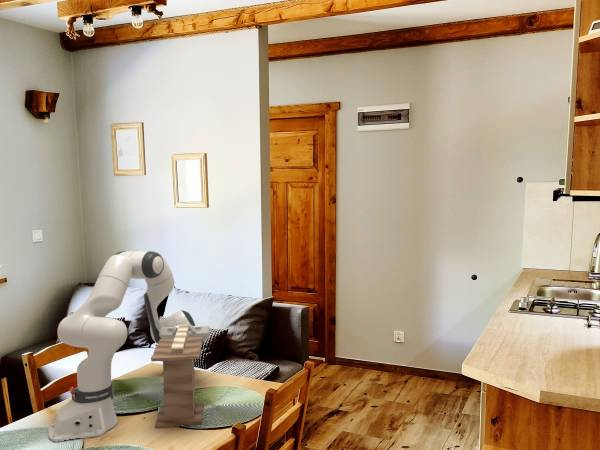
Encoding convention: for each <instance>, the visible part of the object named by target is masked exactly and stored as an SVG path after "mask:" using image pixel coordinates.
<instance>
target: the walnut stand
mask: <svg viewBox="0 0 600 450" xmlns="http://www.w3.org/2000/svg"><path fill="white" fill-rule="evenodd" d="M173 341H174V338H173V339H160V340H159V342H158V343H157V345H156V347H155V349H154V352H153V354H152V356H151V357H150V358H151V362H162V367H163V368H162V373H163V379H162V380H163V402H164V404H163V405H160V407H159V411H158V414H157V417H156V421H155V424H154V429H165V428H167V429H168V428H180V426H181V427H183V426H182V425H195V426H201V425H200V424H203V418H202V417H204V409H205V403H204V402H196V383H195V381H196V380H195V379H196V378H195V375H196V374H195V360H197V359H198V360H200V358H201V350H202V346H203V343H202V341H203V337H193V338H186V342H185V346H184V350H183V353H175V354H171V347H172V344H173Z"/></svg>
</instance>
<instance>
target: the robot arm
mask: <svg viewBox="0 0 600 450" xmlns="http://www.w3.org/2000/svg"><path fill="white" fill-rule="evenodd" d="M131 279H134V280H139V279H140V280H141V279H142V280H143V279H144V280H145V283H146V285H147V286H146V287H147V288H146V291H145V293H144V294H143V301H144V305H145V310H146V314H147V318H148V323H149V327H150V328H149V329H150V330H149V331H150V336H151V339H152V340H153V341H154V342H155V343H156V344H158V342H159V340H160V339H173V338H175V335H176V332H177V329H178V326H179V325H189V326H188V330H189V331H188V335H187V338H193V337H203V341H202V344H204V343H207V341H208V339H209V337H210V332H211V331H210V326H209V325H196V324H195V321H194V319H193V317H192V315H191V314H190V312H188V311H185V310H183V309H181V310H179V311H176V312H175V313H172V314H171V315H168V316H166V317H164V318H162V319H159V315H158V311H157V308H158V306H159V305H160V304H161V302H163V300H164V299H165V298H166V297H168V296H169V295H170V294H171V293H172V291H173V290H174V287H175V278H174V274H173V272H172V271H171V267H170V266H169V264H168V263H167V260H166V259H165V257H164V256H163V255H162V254H160V253H159V252H156V251H154V250H153V251H151V250H149V251H146V250H138V249H137V250H136V249H135V250H125V251H124V250H122V251H118V252H116V253H114V254H112V255H111V256H110V257H108V259H107V261H106V262H105V264H104V266H103V267H102V269H101V271H100V272H99V275H98V277H97V279H96V282H95V284H94V285H93V288H92V289H91V292H90V294H89V296H88V297H87V298H86V300H85V301H84V303H82V305H81V306H80V307H79V308H78V309H76V311H74V312H73V313H71V314H70V315H67V316H65V317H64V318H63V319H62V320H61V321H60V322H59V323H58V326H57V338H58V340H59V341H60V342H61V343H63V344H66V345H67V346H70V347H75V348H83V349H84V348H85V349H87V350H88V353H87V357H86V358H84V359H83V360H81V361H80V362H79V364H78V365H77V368H76V378H77V380H76V382H77V387H75V386H71V387H70V388H69V390H68V391H69V393H70V395H71V400H69V401H68V402H67V403H66V404H64V405H63V406H62V407H61V408H60V409H58V412H57V413H56V416H55V420H54V422H52V423H51V425H49V427H48V430H47V436H49V437H48V439H49V438H50V439H51V440H50V439H49V440H50V441H51V442H54V441H55V443H58V441H59V442H65V441H64V440H67V441H70V440H69V439H74V438H81V439H87V438H92V437H100V436H104V434H105V433H106V432H107V431H109V430H111V429H112V428H114V427H115V426H116V425H117V424H118V422H119V420H118V417H117V413H116V411H115V406H114V401H113V399H114V391H113V390H114V386H113V382H112V363H113V358H114V356H115V353H116V351H118V350H119V349H120V348H122V346H123V345H124V344H125V343H126V340H127V338H128V328H127V325H126V324H125V322H124V321H122V320H119V319H117V318H112V317H107V316H108V315H109V314H110V313H111V312H113V311H114V312H115V311H116V310H118V309H119V308H120V307H121V305H122V303H123V301H124V297H125V295H126V292H127V290H128V287H129V285H130V281H131ZM74 440H75V439H74Z"/></svg>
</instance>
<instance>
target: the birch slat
mask: <svg viewBox="0 0 600 450" xmlns="http://www.w3.org/2000/svg"><path fill="white" fill-rule="evenodd" d="M188 326H189V325H179V326H178V329H177V332H176V335H175V338H174V341H173V344H172V347H171V354H175V353H183V350H184V346H185V342H186V338H187V335H188V331H189V330H188Z"/></svg>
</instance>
